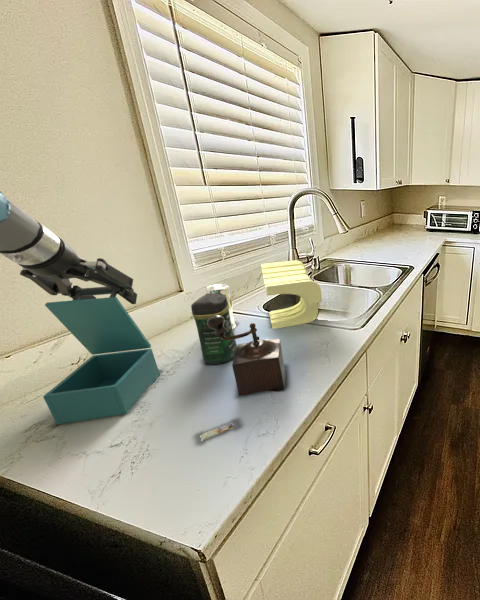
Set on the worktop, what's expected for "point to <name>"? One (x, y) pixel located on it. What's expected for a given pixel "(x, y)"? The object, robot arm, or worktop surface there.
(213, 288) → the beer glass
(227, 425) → the granola bar
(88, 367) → the lunchbox
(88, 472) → the worktop surface
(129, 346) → the lunchbox lid
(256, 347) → the manual coffee grinder
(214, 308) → the coffee jar
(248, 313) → the worktop surface
